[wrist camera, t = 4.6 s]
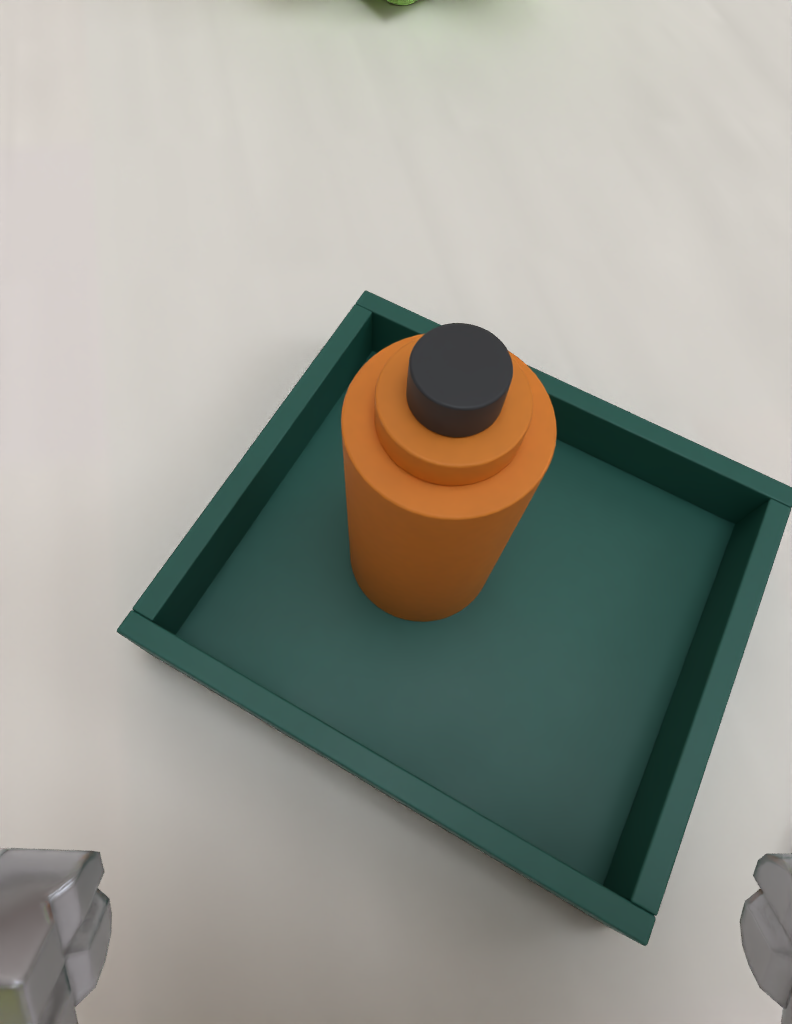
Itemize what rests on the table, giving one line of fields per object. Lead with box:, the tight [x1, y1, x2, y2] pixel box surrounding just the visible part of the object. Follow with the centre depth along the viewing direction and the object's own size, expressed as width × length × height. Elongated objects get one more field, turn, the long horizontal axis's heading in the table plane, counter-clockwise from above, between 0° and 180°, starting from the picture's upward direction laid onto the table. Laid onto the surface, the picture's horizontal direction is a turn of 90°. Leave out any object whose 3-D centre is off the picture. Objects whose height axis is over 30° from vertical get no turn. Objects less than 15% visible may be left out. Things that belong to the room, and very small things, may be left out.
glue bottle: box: [341, 323, 557, 622], centre depth 19 cm, size 5×5×12 cm
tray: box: [117, 291, 792, 946], centre depth 24 cm, size 16×18×3 cm
